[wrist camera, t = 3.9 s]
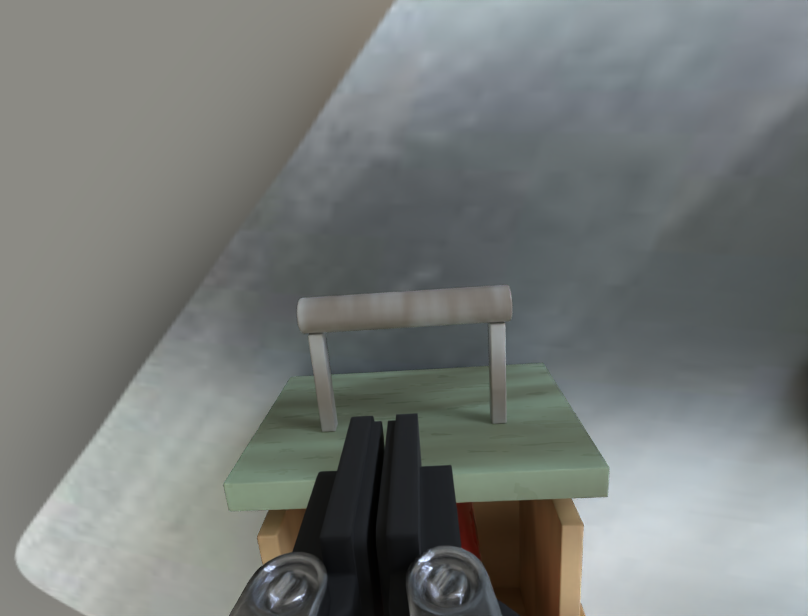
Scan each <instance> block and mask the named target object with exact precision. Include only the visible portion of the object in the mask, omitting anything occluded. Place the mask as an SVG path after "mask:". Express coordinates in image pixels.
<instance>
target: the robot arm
mask: <svg viewBox="0 0 808 616" xmlns="http://www.w3.org/2000/svg"><path fill="white" fill-rule="evenodd" d="M229 616H520V615H519V614H517V613H516V612H515V611H513V610H512V609H511V608H509V607H508V606H507V605H505V604H504V603H502V602H501V601H500V600H498V599H497V598H496V596H495V593H494V590H493V587H492V585H491V582H490V579H489V576H488V573H487V571H486V569H485V567H484V566H483V564H482V562H481V561H480V560H479V559H478V558H477V557H476V556H475V555H474V554H473V553H471V552H469V551H467V550H465V549H463V548H462V547H461V539H460V530H459V522H458V514H457V505H456V497H455V489H454V480H453V472H452V465H438V466H422V463H421V450H420V437H419V423H418V413H412V414H396V420H389V421H388V424H387V433H386V442H385V444H384V434H383V425H382V421H374V417H373V416H357V417H351V419H350V423H349V427H348V431H347V434H346V438H345V442H344V446H343V450H342V453H341V457H340V461H339V465H338V469H337V471H320V472H319V473H318V475H317V477H316V480H315V483H314V486H313V490H312V493H311V496H310V499H309V502H308V505H307V508H306V511H305V514H304V517H303V520H302V523H301V527H300V530H299V533H298V536H297V539H296V542H295V545H294V548H293V551H292V552H290V553H286V554H283V555H279V556H277V557H275V558H273V559H271V560H269V561H268V562H266V563H265V564H264V565H263V566H261V567H260V568H259V569H258V570H257V571H256V572H255V573H254V575H253V576H252V577H251V579H250V580H249V582H248V583H247V585H246V587H245V589H244V590H243V592H242V594H241V596H240V597H239V599H238V601H237V603H236V604H235V606H234V608H233V609H232V611H231V613H230V615H229Z"/></svg>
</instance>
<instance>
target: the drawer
mask: <svg viewBox="0 0 808 616" xmlns="http://www.w3.org/2000/svg"><path fill="white" fill-rule="evenodd" d="M512 312H513V305H512V294H511V290H510V287H509V285H491V286H475V287H460V288H444V289H429V290H414V291H398V292H383V293H367V294H352V295H337V296H321V297H306V298H300V299H299V301H298V304H297V322H298V326H299V329H300V331H301V333H303V334H308V333H309V335H308V340H309V347H310V354H311V361H312V368H313V375H314V376H296V377H290V379H289V381H288V382H287V384H286V385H285V387H284V388H283V390H282V392H281V393H280V395H279V396H278V398H277V400H276V401H275V403H274V404H273V406H272V407H271V409H270V411H269V412H268V414H267V415H266V417H265V419H264V420H263V422H262V423H261V425H260V427H259V428H258V430H257V431H256V433H255V434H254V436H253V438H252V439H251V441H250V442H249V444H248V446H247V447H246V449H245V450H244V452H243V453H242V455H241V457H240V458H239V460H238V461H237V463H236V465H235V466H234V468H233V469H232V471H231V472H230V474H229V476H228V477H227V479H226V480H225V482H224V484H223V486H224V490H225V495H226V499H227V504H228V508H229V511H256V510H269V511H268V513H267V515H266V517H265V520H264V522H263V524H262V526H261V528H260V531H259V533H258V535H257V540H258V545H259V550H260V554H261V559H262V564H263V565H264V564H265V563H266V562H268V561H269V560H271V559H273V558H275V557H277V556H279V555H283V554H286V553H290V552H292V551H293V548H294V545H295V542H296V539H297V536H298V533H299V530H300V527H301V523H302V520H303V517H304V514H305V511H306V508H307V505H308V502H309V499H310V496H311V493H312V490H313V486H314V483H315V480H316V477H317V475H318V473H319V472H320V471H337V469H338V465H339V461H340V457H341V453H342V450H343V446H344V442H345V438H346V434H347V431H348V427H349V423H350V419H351V417H357V416H373V417H374V421H382V425H383V434H384V444H385V442H386V433H387V424H388V421H389V420H396V414H412V413H418V423H419V437H420V450H421V463H422V466H438V465H452V472H453V480H454V489H455V497H456V503H463V502H473V507H474V514H475V520H476V526H477V533H478V539H479V546H480V552H481V559H482V564H483V566H484V567H485V569H486V571H487V573H488V576H489V579H490V582H491V585H492V587H493V590H494V593H495V596H496V598H497V599H498V600H500V601H501V602H502V603H504V604H505V605H507V606H508V607H509V608H511V609H512V610H513V611H515V612H516V613H517V614H519V615H520V616H580V598H581V576H582V553H583V531H584V525H583V522H582V520H581V518H580V516H579V514H578V512H577V509H576V507H575V505H574V503H573V501H572V498H593V497H608V486H609V470H610V468H609V466H608V465H607V463H606V461H605V460H604V458H603V457H602V455H601V454H600V452H599V450H598V449H597V447H596V446H595V444H594V443H593V441H592V439H591V438H590V436H589V435H588V433H587V432H586V430H585V428H584V427H583V425H582V424H581V422H580V420H579V419H578V417H577V416H576V414H575V413H574V411H573V409H572V408H571V406H570V405H569V403H568V402H567V400H566V398H565V397H564V395H563V394H562V392H561V391H560V389H559V387H558V386H557V384H556V383H555V381H554V379H553V378H552V376H551V375H550V373H549V372H548V370H547V368H546V367H545V365H544V364H543V363H532V364H514V365H506V329H505V322H507V321H510V320H511V318H512ZM474 323H488V351H489V366H478V367H460V368H441V369H423V370H405V371H387V372H369V373H351V374H333V375H331V369H330V362H329V354H328V347H327V339H326V332H341V331H358V330H374V329H391V328H407V327H424V326H441V325H457V324H474Z"/></svg>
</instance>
